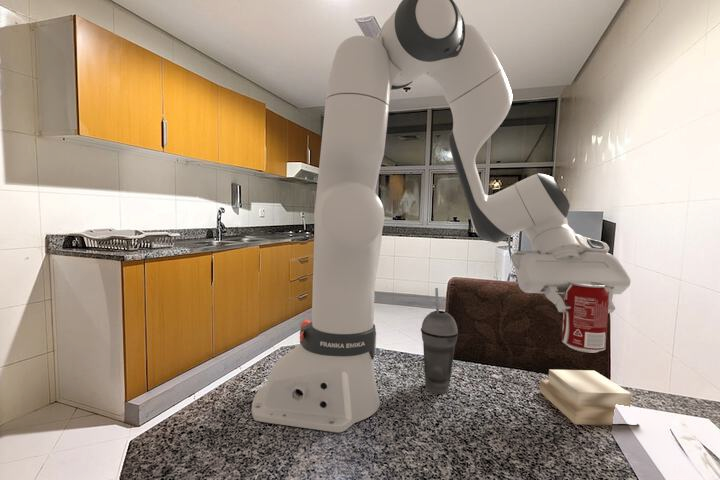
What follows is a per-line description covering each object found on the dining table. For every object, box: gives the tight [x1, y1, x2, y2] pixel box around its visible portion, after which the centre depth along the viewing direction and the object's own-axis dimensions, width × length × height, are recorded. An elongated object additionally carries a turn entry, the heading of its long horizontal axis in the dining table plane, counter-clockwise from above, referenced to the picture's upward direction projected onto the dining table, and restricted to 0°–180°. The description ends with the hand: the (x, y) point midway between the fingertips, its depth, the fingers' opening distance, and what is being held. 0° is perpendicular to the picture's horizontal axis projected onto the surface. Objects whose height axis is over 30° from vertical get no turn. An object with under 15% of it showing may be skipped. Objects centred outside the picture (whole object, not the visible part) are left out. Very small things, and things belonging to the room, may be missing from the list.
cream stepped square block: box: [539, 368, 635, 426], centre depth 63 cm, size 11×11×5 cm
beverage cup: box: [420, 287, 459, 395], centre depth 68 cm, size 7×7×20 cm
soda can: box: [561, 281, 609, 354], centre depth 63 cm, size 7×7×12 cm
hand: (587, 311), depth 62 cm, fingers closed on soda can, 7 cm apart
